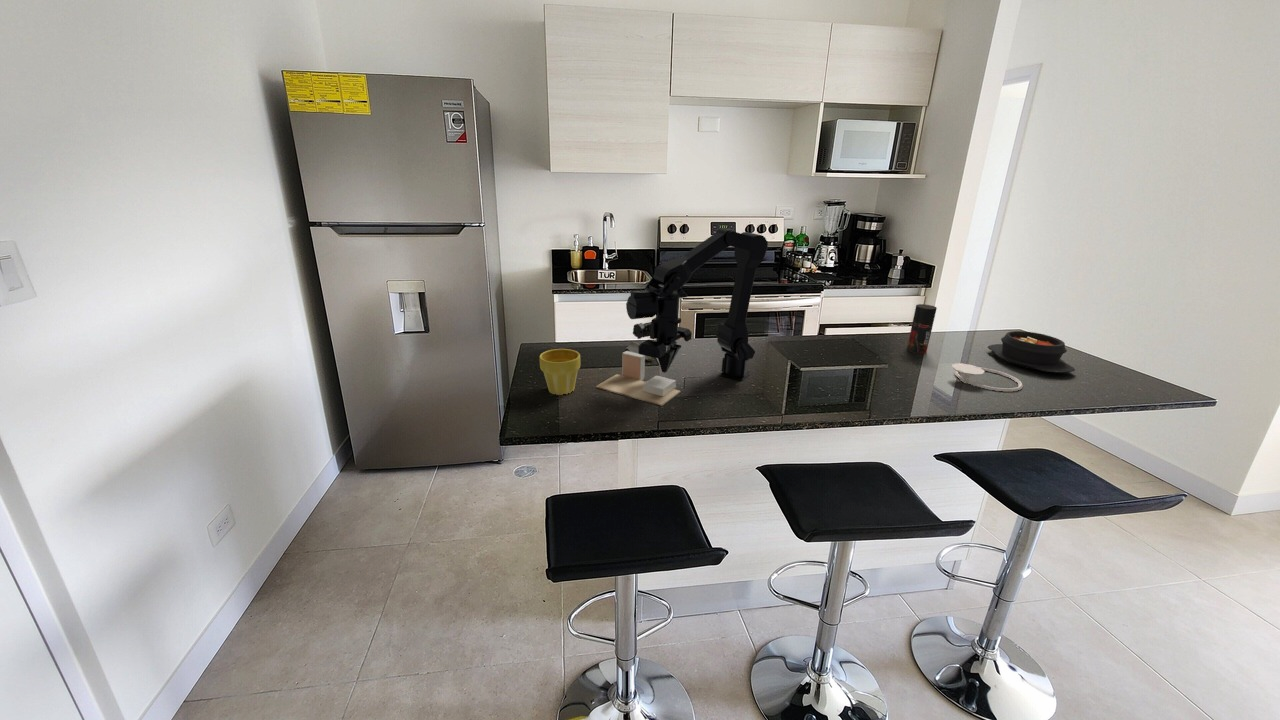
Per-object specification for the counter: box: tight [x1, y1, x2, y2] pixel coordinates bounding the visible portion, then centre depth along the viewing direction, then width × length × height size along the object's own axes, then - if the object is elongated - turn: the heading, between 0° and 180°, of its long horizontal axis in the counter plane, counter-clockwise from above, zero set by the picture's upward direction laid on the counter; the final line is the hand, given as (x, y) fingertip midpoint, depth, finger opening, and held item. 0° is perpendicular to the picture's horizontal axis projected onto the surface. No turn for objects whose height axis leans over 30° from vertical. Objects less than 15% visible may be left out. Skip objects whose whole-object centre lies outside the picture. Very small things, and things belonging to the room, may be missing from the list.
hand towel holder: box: [951, 362, 1023, 393], centre depth 153 cm, size 17×4×21 cm
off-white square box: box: [643, 375, 677, 396], centre depth 140 cm, size 6×2×7 cm
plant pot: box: [539, 348, 581, 396], centre depth 138 cm, size 10×10×10 cm
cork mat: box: [595, 373, 681, 407], centre depth 141 cm, size 20×10×1 cm, turn 59°
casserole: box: [987, 330, 1076, 374], centre depth 167 cm, size 25×19×8 cm
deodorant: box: [906, 303, 938, 355], centre depth 174 cm, size 6×6×15 cm
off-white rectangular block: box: [621, 350, 646, 381], centre depth 147 cm, size 6×2×7 cm, turn 59°
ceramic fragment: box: [626, 341, 654, 363], centre depth 165 cm, size 14×5×4 cm, turn 29°
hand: (664, 372), depth 141 cm, fingers closed
